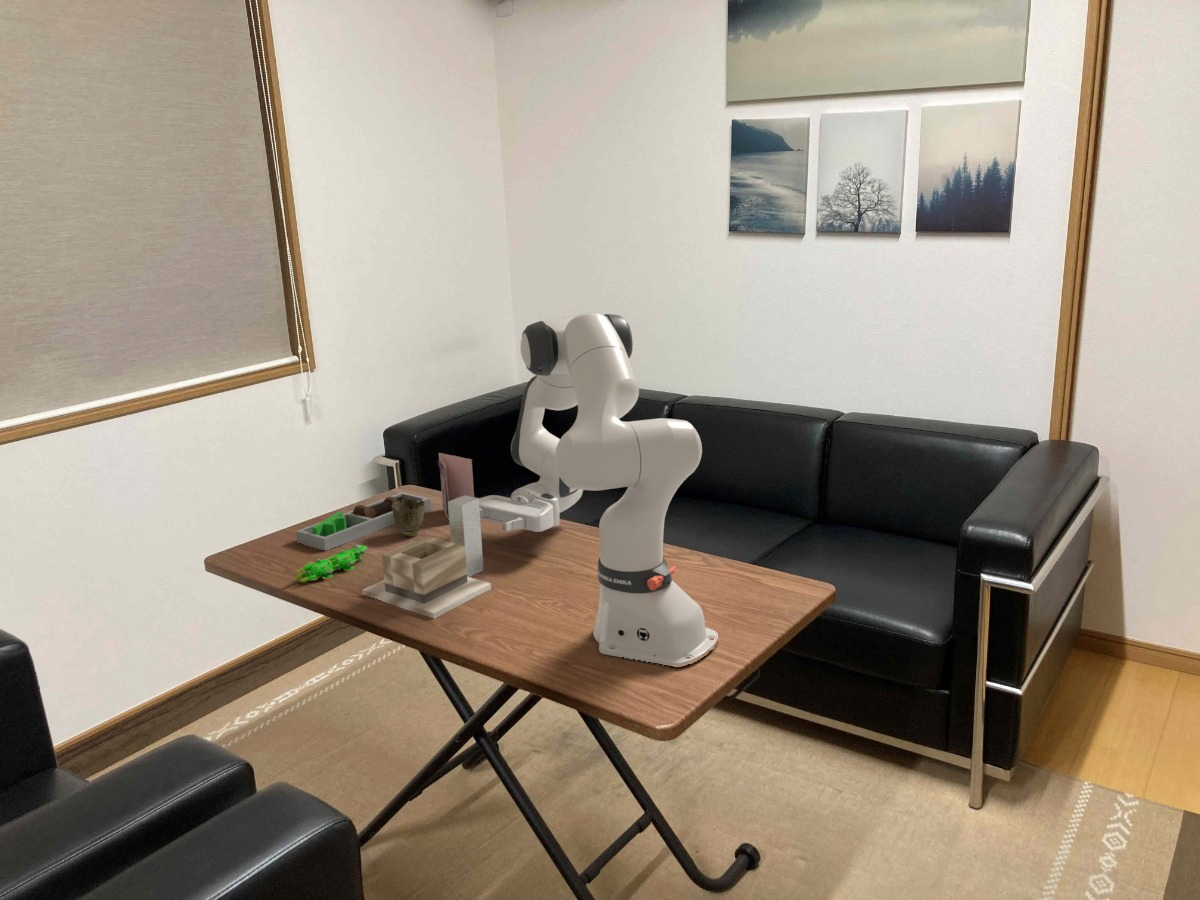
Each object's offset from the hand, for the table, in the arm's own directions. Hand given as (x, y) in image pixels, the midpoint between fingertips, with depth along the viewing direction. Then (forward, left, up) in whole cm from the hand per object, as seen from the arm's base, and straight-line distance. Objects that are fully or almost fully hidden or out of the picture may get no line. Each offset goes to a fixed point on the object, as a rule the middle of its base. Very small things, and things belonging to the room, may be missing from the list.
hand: (487, 523), depth 200 cm
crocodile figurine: (+25, +22, -9) cm, 35 cm away
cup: (+27, -2, -9) cm, 29 cm away
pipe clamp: (+42, +8, -9) cm, 43 cm away
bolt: (+42, -8, -9) cm, 44 cm away
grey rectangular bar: (0, +7, -9) cm, 11 cm away
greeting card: (+27, -18, -9) cm, 34 cm away
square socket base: (0, +19, -9) cm, 21 cm away
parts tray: (+41, -1, -9) cm, 42 cm away
